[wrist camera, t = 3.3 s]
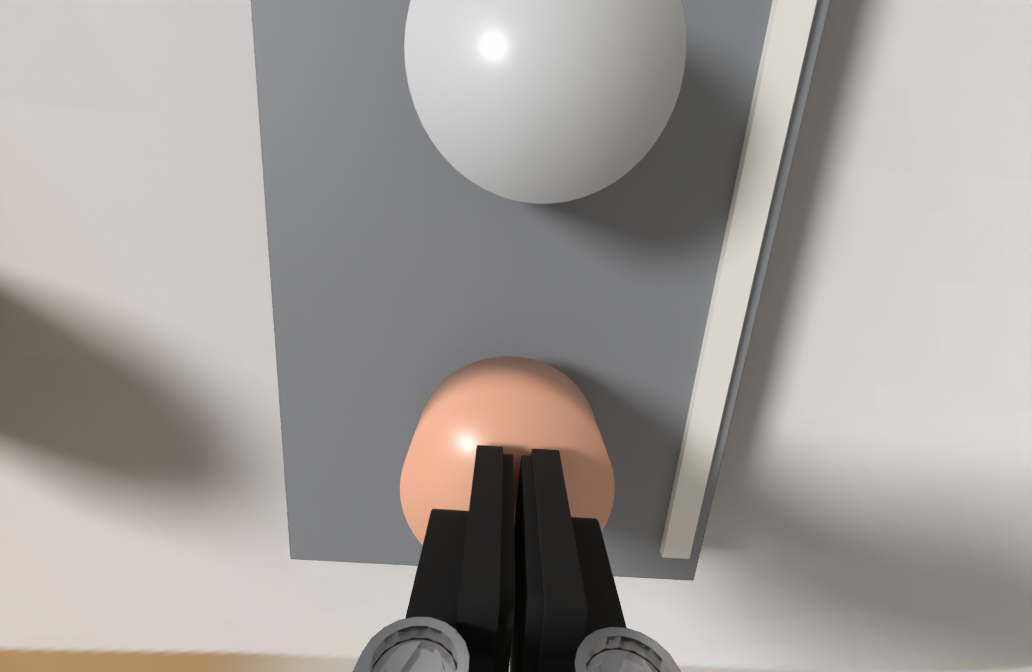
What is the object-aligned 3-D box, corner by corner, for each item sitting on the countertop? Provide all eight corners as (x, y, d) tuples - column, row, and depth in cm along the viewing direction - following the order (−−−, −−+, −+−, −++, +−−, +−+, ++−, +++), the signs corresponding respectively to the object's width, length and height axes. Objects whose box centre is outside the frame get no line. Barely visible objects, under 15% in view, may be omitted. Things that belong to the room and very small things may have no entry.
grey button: (428, -63, 9) (405, -131, 7) (666, -38, 9) (711, -99, 7) (423, 188, 11) (402, 192, 9) (631, 205, 11) (660, 213, 9)
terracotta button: (419, 349, 12) (400, 389, 10) (608, 362, 12) (629, 404, 10) (416, 509, 13) (398, 575, 11) (585, 519, 13) (599, 585, 11)
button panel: (263, -707, 9) (166, -1055, 7) (904, -611, 10) (1051, -901, 7) (320, 505, 17) (286, 565, 15) (668, 525, 18) (696, 586, 15)
